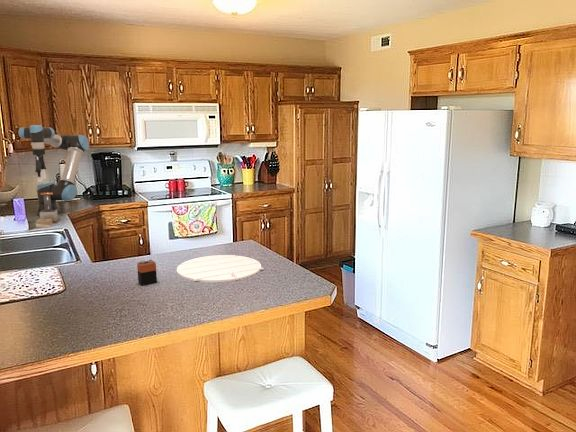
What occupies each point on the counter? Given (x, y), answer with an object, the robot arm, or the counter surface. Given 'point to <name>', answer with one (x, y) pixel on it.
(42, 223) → the block
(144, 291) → the counter surface
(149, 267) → the battery
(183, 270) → the lazy susan
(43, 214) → the chuck
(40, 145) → the robot arm
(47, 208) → the chuck key
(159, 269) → the counter surface
